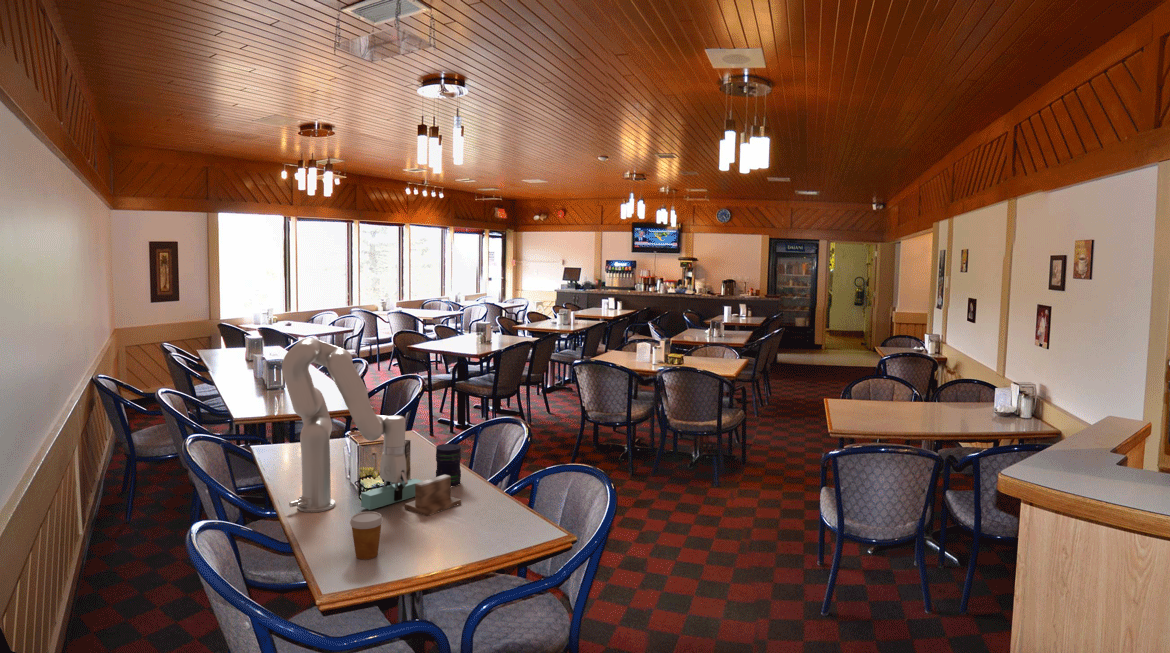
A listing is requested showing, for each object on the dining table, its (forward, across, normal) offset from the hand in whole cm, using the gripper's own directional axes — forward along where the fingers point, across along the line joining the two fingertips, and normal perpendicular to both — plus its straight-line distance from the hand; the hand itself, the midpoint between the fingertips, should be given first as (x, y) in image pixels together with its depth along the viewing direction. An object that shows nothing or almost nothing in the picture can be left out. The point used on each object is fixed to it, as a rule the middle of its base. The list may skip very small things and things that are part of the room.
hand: (393, 497), depth 257 cm
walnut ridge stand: (+1, +14, +6) cm, 16 cm away
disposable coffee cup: (+2, +31, -34) cm, 47 cm away
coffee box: (+2, -17, +16) cm, 23 cm away
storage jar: (+1, -1, +28) cm, 28 cm away
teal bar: (+1, 0, 0) cm, 1 cm away
